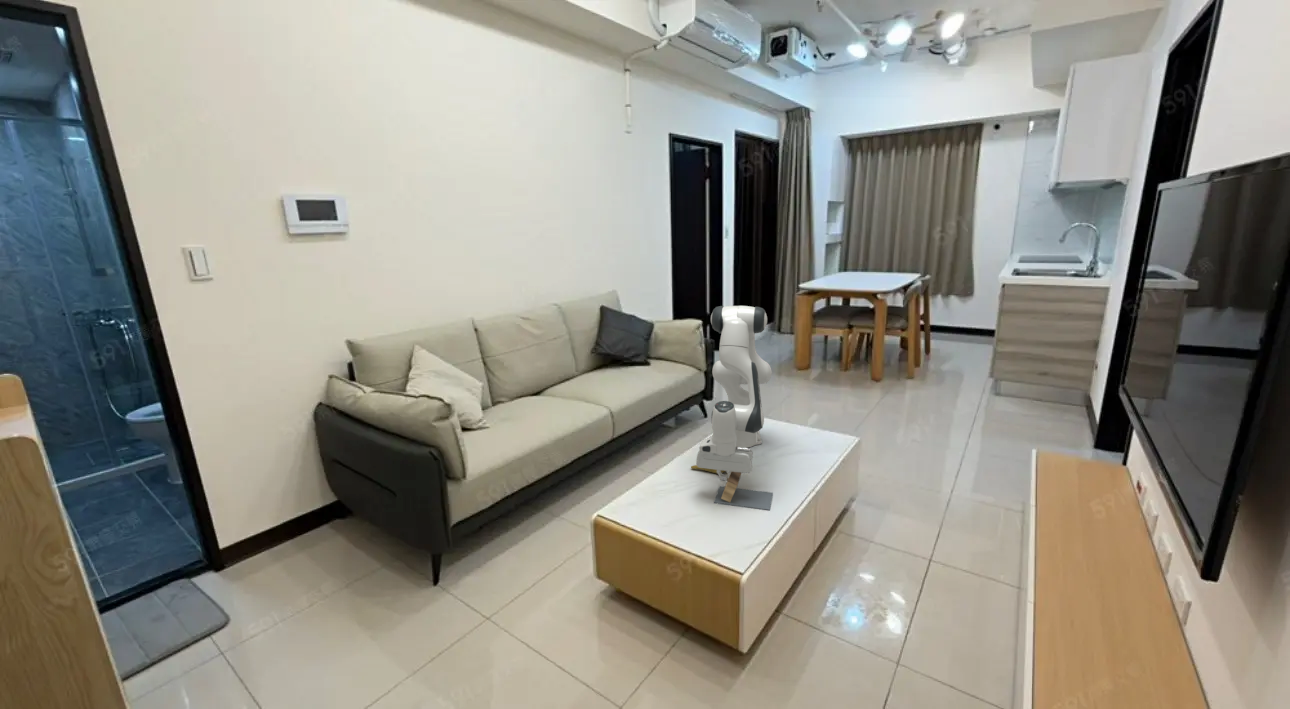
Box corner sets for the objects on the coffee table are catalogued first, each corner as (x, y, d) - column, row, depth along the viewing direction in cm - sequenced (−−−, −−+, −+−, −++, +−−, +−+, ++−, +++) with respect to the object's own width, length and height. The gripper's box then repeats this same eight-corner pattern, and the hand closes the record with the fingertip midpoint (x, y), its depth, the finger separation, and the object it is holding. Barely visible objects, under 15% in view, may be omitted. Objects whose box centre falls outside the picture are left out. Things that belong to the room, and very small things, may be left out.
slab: (725, 485, 202) (732, 468, 199) (734, 489, 201) (741, 471, 198) (721, 498, 193) (728, 480, 190) (730, 502, 192) (737, 484, 189)
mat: (719, 486, 204) (719, 486, 204) (772, 493, 198) (772, 492, 198) (713, 503, 193) (713, 502, 193) (769, 510, 187) (769, 509, 187)
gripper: (754, 445, 192) (753, 479, 195) (698, 439, 198) (699, 472, 202) (751, 452, 186) (751, 487, 190) (695, 446, 192) (695, 480, 196)
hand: (723, 480), depth 196 cm, fingers closed
